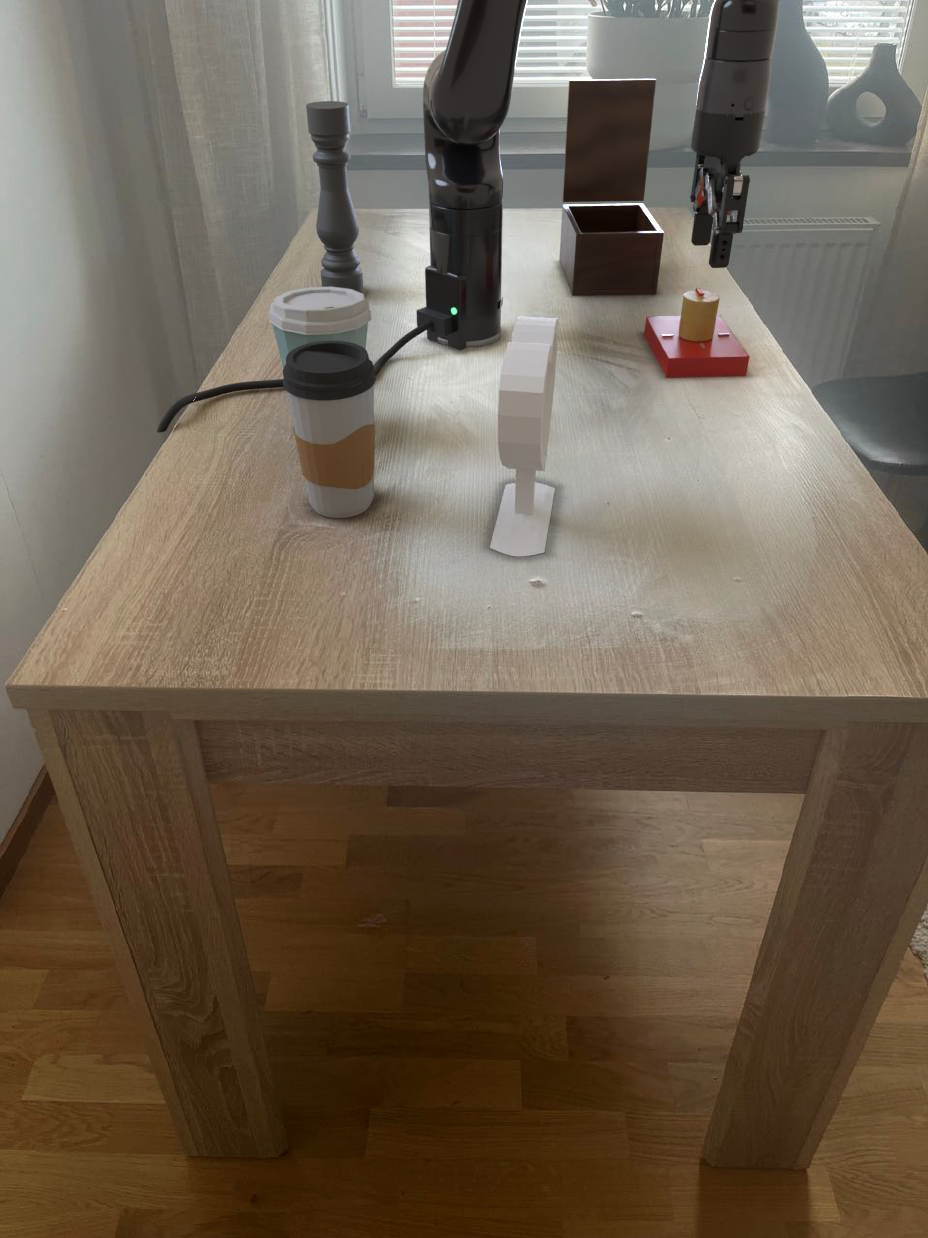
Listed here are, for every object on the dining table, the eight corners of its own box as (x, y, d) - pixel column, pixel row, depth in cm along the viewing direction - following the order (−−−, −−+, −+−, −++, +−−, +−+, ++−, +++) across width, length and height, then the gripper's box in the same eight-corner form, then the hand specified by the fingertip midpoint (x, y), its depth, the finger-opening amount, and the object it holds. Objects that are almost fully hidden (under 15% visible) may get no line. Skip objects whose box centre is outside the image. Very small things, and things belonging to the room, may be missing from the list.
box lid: (656, 79, 133) (649, 74, 137) (569, 80, 133) (565, 75, 137) (643, 200, 143) (637, 192, 147) (563, 202, 143) (558, 194, 147)
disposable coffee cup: (274, 415, 106) (255, 283, 97) (364, 400, 109) (355, 271, 100) (295, 457, 98) (277, 318, 89) (391, 439, 101) (384, 303, 92)
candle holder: (361, 300, 135) (347, 108, 120) (319, 300, 135) (300, 108, 120) (366, 286, 140) (353, 100, 125) (325, 286, 140) (307, 100, 125)
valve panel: (746, 375, 114) (750, 355, 112) (665, 377, 114) (668, 356, 112) (717, 333, 125) (720, 313, 123) (643, 334, 125) (646, 315, 123)
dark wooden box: (656, 294, 137) (664, 232, 131) (572, 295, 137) (576, 233, 131) (636, 261, 149) (642, 203, 144) (559, 262, 149) (562, 204, 143)
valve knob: (717, 341, 116) (724, 299, 113) (682, 341, 116) (688, 299, 113) (708, 328, 119) (715, 287, 116) (674, 328, 119) (680, 287, 116)
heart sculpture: (542, 565, 82) (553, 373, 71) (486, 559, 83) (489, 369, 72) (556, 478, 94) (568, 303, 83) (508, 474, 95) (513, 300, 84)
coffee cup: (342, 472, 95) (328, 331, 86) (401, 499, 91) (393, 353, 82) (281, 505, 90) (259, 359, 81) (341, 535, 86) (325, 384, 77)
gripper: (682, 93, 107) (665, 238, 117) (714, 117, 96) (692, 275, 106) (746, 92, 107) (723, 237, 117) (785, 115, 96) (756, 273, 106)
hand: (708, 255), depth 112 cm, fingers open, 8 cm apart
